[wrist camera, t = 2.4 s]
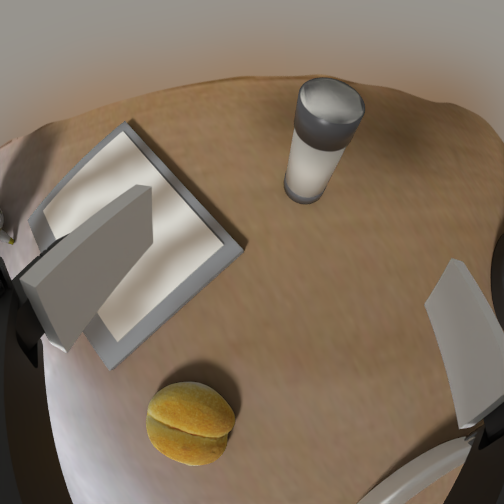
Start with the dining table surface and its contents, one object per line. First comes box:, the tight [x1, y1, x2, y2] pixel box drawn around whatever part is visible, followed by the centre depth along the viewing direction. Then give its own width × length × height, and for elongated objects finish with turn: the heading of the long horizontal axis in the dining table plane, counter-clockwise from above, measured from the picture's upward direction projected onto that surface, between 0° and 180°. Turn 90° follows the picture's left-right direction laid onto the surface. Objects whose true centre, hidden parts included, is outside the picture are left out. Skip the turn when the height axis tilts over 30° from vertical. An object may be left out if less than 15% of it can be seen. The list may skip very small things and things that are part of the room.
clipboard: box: [28, 121, 244, 370], centre depth 26 cm, size 22×18×2 cm
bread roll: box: [146, 382, 235, 466], centre depth 21 cm, size 8×9×4 cm
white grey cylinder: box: [284, 78, 365, 204], centre depth 21 cm, size 4×4×13 cm
